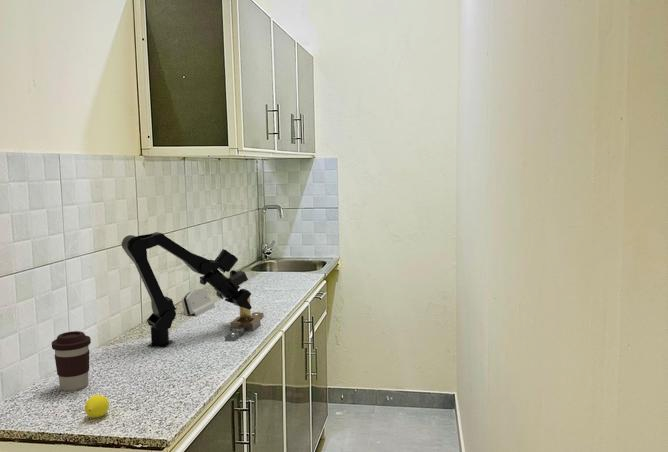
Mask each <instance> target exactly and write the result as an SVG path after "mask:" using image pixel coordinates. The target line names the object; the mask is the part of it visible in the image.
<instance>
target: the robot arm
mask: <svg viewBox="0 0 668 452" xmlns="http://www.w3.org/2000/svg"><path fill="white" fill-rule="evenodd" d="M156 246H159V247H160V248H162V249H163V250H165V251H167V252H168V253H169V254H171V255H173V256H175V257H176V258H178V259H179V260H181V261H182V262H183V263H184V264H185V265H186V266H187V267H188V268H189V269H190V270H191V271H193V272H194V273H197V274H199V275H202V276H199V284H200V285H202V286H206V284H207V283H208V284H209V285H210V286H211V287H212V288H214V289H213V290H214V291H215V292H216V296H217V297H218V298H219V299H220V300H224V301H225V302H228V303H230V304H233V305H234V306H237V307H239V308H240V307H243V308H246V309H249V310H250V309H251V310H252V308H253V307H252V305H251V302H250V303H249V302H248V300H247V299H248V298H249V297H250V298H251V295H252V293H251V292H250V291H249V290H248V289H245V288H241V287H240V285H241V284H243V283H244V282H247V281H248V280H249V278H248V276H247V275H246V272H245V271H243V270H234V269H233V267H234V266H235V264H236V263H237V262H238V261H239V259H238V257H236V256H235V255H234V254H232V253H231V252H229V251H228V250H227V249H224V248H222V250H221V251H220V252H219V254H218V255H217V256H216V258H215V259H208V258H206V257H204V256H200V255H198V254H196V253H193V252H191V251H189V250H187V249H186V248H185V247H184V246H182V245H180V244H179V243H176V242H175V241H173V240H172V238H171V239H170V238H169V237H167V236H166V235H165V234H164V233H161V232H157V231H156V232H152V233H147V234H141V235H131V234H129V235H126V236H125V237H124V238H123V239H122V241H121V248H122V250H123V251H124V252H125V253H126V255H127V256H128V258H129V259H130V260H131V261H132V262H133V264H134V265H135V268H136V269H137V272H138V274H139V276H140V278H141V281H142V283H143V286H144V287H145V289H146V292H147V294H148V296H149V298H150V302H151V303H150V304H151V306H150V307H151V310H152V313H151V314H150V315H149V317H148V318H147V319H146V322H147V324H148V326H150V340H151V342H150V343H148V344H147V348H148V347H151V348H166V347H167V346H169V345H171V344H172V343H174V340H173V339H172V340H171V339H170V335H169V330H170V329H171V327H172V324H173V321H175V319H176V317H177V312H176V311H177V307H176V306H175V304H174V301H173V298H170V297H168V296H165V295H164V293H163V291H162V289H161V287H160V284H159V281H158V280H157V277H156V275H155V274H154V270H153V269H152V267H151V265H150V262H149V260H148V251H147V250H148V249H151V248H154V247H156ZM225 273H229V277H227V276H225Z"/></svg>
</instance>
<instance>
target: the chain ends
mask: <svg viewBox="0 0 668 452" xmlns="http://www.w3.org/2000/svg"><path fill="white" fill-rule="evenodd" d="M264 314H265V313H264V312H261V311H258V312H257V311H256V312H255V311H254V312H252V313H251V322H240V316H237V317H236V318H234V319H233V320H231V322H230V330H229V331H228V332H227V333H226V335H225V336H224V341H225V342H226V341H229V342H235V341H237V340H238V339H240V337H241V336H243V335H244V334H245V333H246V332H255V331H256V330H257V329H258V328H259V327H260V326H261V320H262V319H263V318H264Z"/></svg>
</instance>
